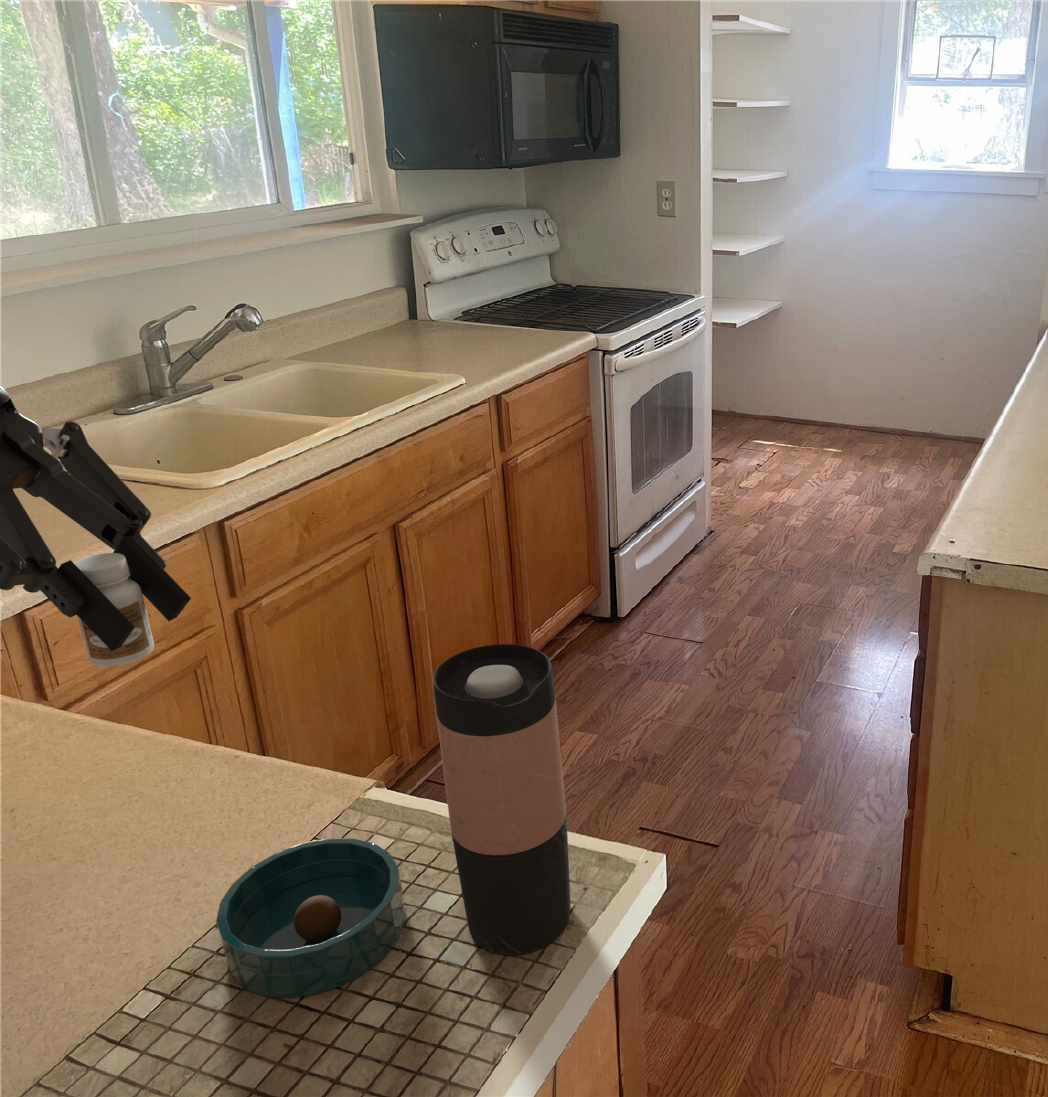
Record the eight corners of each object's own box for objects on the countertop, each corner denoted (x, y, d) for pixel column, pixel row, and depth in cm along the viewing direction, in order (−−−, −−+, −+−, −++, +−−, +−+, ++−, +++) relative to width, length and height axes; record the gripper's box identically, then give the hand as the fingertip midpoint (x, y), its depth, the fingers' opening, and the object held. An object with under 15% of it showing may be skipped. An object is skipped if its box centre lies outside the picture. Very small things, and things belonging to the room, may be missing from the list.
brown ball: (304, 958, 69) (296, 923, 68) (293, 931, 71) (285, 897, 70) (349, 939, 70) (343, 904, 69) (337, 913, 73) (330, 879, 71)
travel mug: (492, 875, 77) (463, 637, 69) (589, 889, 75) (571, 648, 68) (445, 950, 70) (407, 695, 62) (551, 966, 68) (526, 708, 61)
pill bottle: (91, 674, 75) (65, 578, 72) (88, 650, 79) (62, 557, 76) (158, 658, 78) (135, 564, 75) (152, 636, 81) (130, 545, 78)
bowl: (248, 1027, 64) (237, 984, 63) (212, 918, 73) (201, 879, 71) (428, 946, 70) (422, 906, 69) (375, 855, 79) (369, 818, 78)
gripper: (20, 393, 84) (220, 603, 85) (-222, 453, 69) (26, 708, 70) (52, 332, 80) (260, 552, 82) (-196, 381, 65) (65, 650, 66)
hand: (152, 623), depth 76 cm, fingers closed on pill bottle, 4 cm apart
